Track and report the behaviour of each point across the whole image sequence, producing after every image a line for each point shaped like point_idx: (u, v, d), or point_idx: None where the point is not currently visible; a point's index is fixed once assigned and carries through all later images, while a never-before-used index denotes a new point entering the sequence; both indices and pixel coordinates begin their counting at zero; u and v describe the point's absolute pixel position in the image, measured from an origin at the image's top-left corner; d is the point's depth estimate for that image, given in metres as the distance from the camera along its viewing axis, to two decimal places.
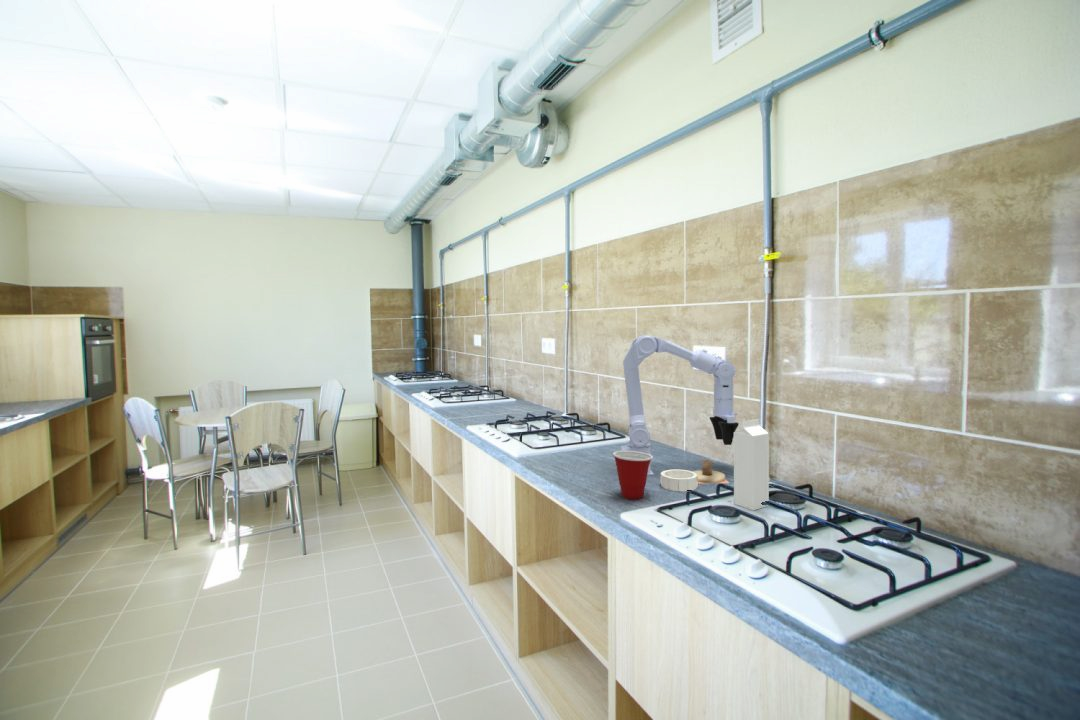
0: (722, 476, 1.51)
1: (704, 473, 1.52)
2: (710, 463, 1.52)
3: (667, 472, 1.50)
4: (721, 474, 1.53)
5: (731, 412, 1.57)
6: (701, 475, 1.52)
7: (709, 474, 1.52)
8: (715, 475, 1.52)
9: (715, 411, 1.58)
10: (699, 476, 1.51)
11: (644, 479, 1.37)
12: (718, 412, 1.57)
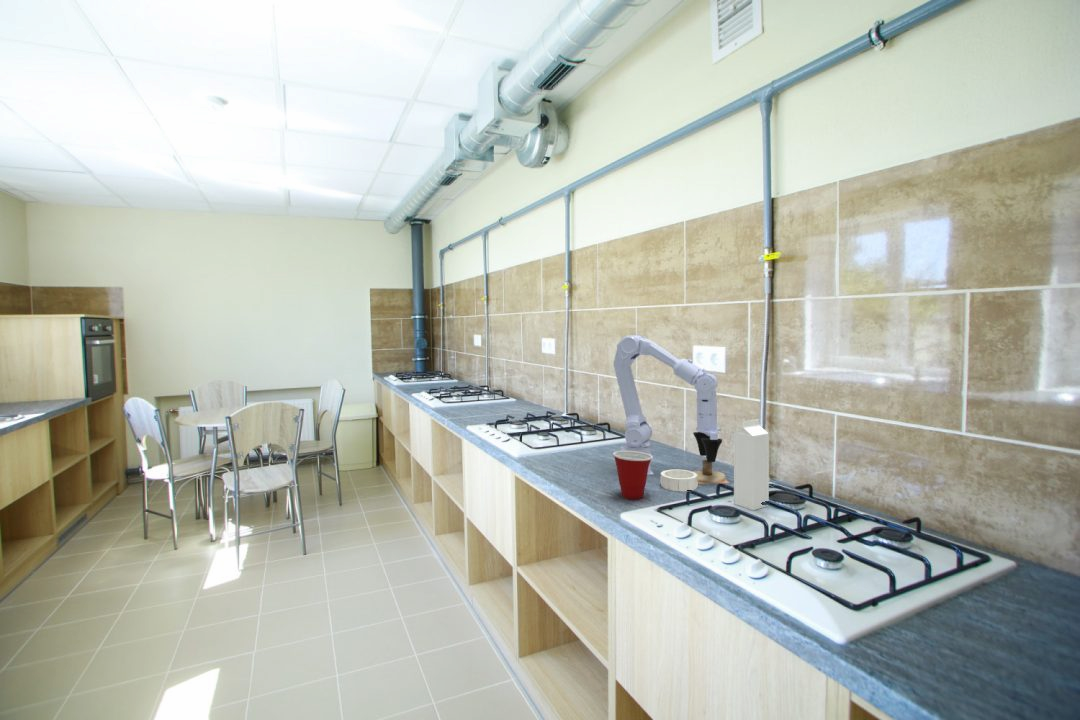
0: (722, 476, 1.51)
1: (704, 473, 1.52)
2: (710, 463, 1.52)
3: (667, 472, 1.50)
4: (721, 474, 1.53)
5: (715, 428, 1.50)
6: (701, 475, 1.52)
7: (710, 474, 1.52)
8: (715, 475, 1.52)
9: (698, 427, 1.52)
10: (699, 476, 1.51)
11: (644, 479, 1.37)
12: (701, 428, 1.51)
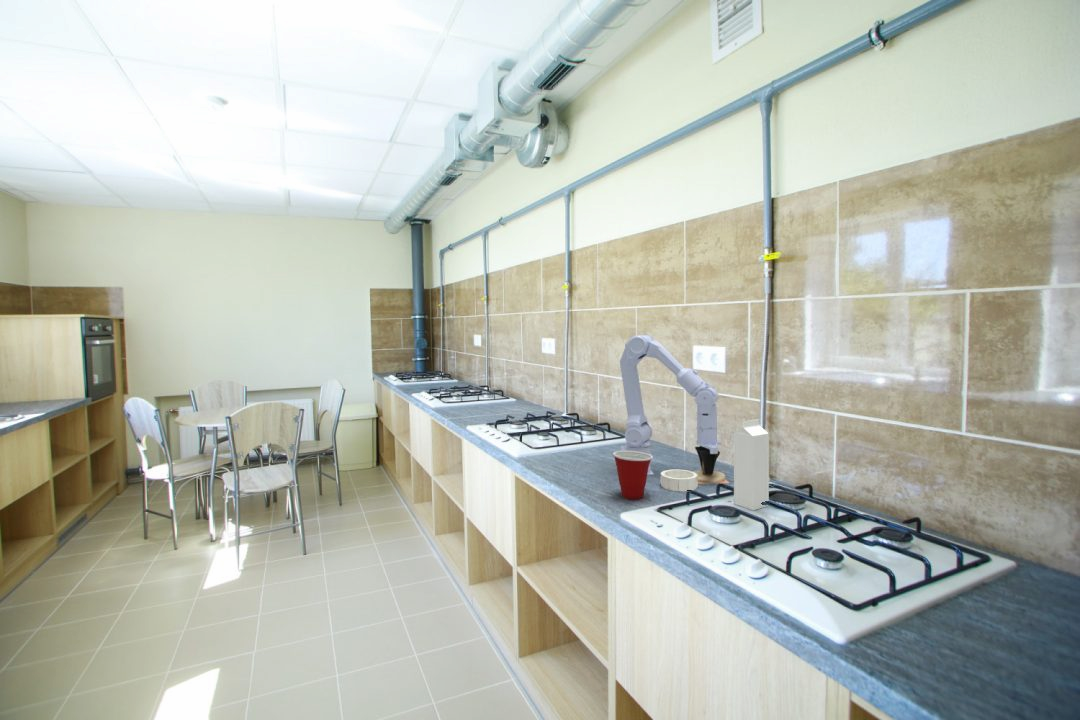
0: (722, 476, 1.51)
1: (704, 473, 1.52)
2: None
3: (667, 472, 1.50)
4: (721, 474, 1.53)
5: (715, 441, 1.50)
6: (701, 475, 1.52)
7: (710, 474, 1.52)
8: (715, 475, 1.52)
9: (698, 440, 1.52)
10: (699, 476, 1.51)
11: (644, 479, 1.37)
12: (701, 441, 1.51)
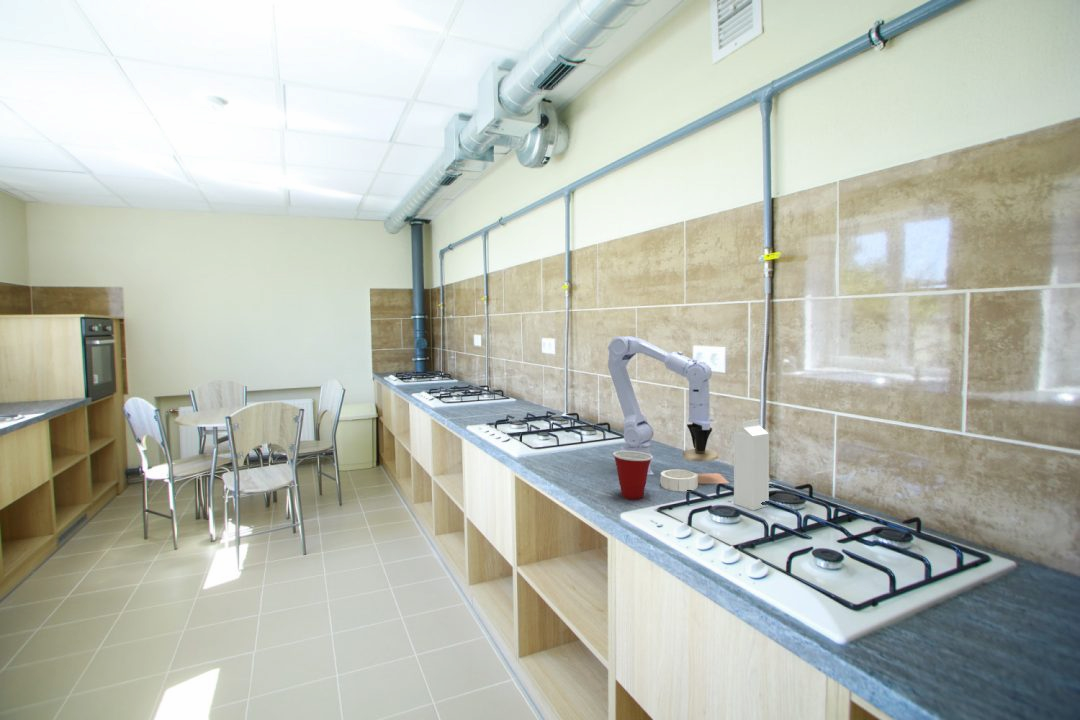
0: (715, 454, 1.49)
1: (697, 452, 1.50)
2: None
3: (667, 472, 1.50)
4: (714, 452, 1.51)
5: (707, 418, 1.48)
6: (694, 454, 1.50)
7: (702, 452, 1.50)
8: (708, 453, 1.50)
9: (690, 417, 1.50)
10: (692, 455, 1.49)
11: (644, 479, 1.37)
12: (693, 418, 1.49)
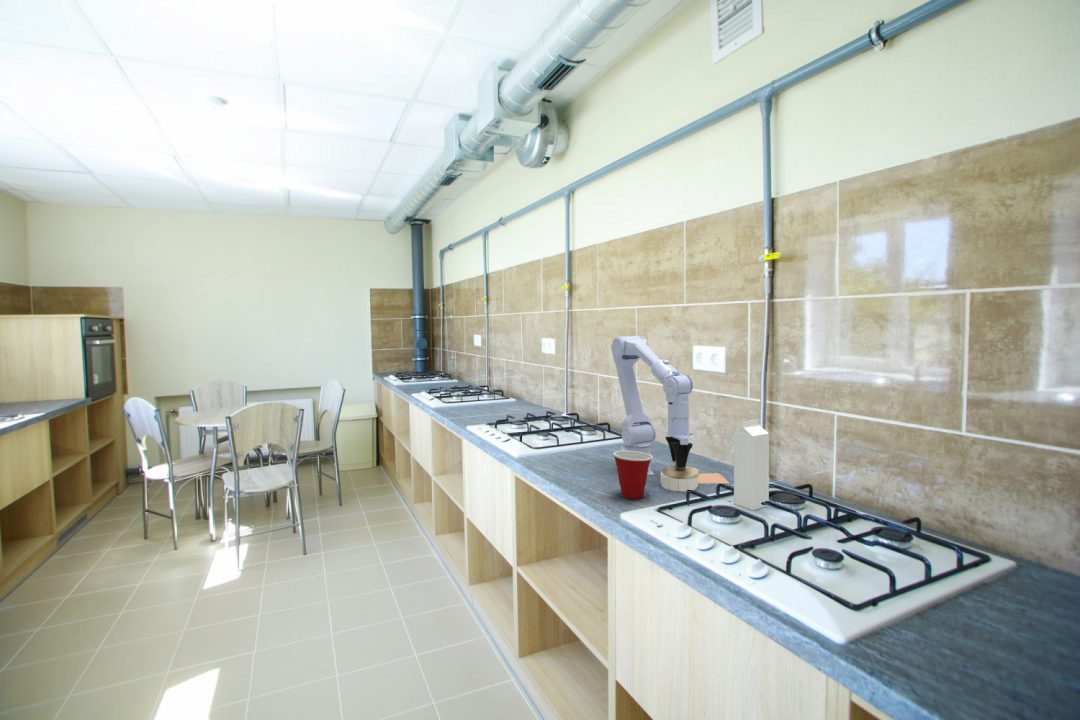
0: (696, 471, 1.44)
1: (677, 469, 1.46)
2: None
3: None
4: (695, 469, 1.46)
5: (686, 432, 1.44)
6: (674, 471, 1.45)
7: (683, 470, 1.45)
8: (689, 471, 1.45)
9: (669, 431, 1.45)
10: (672, 472, 1.44)
11: (644, 479, 1.37)
12: (672, 432, 1.44)
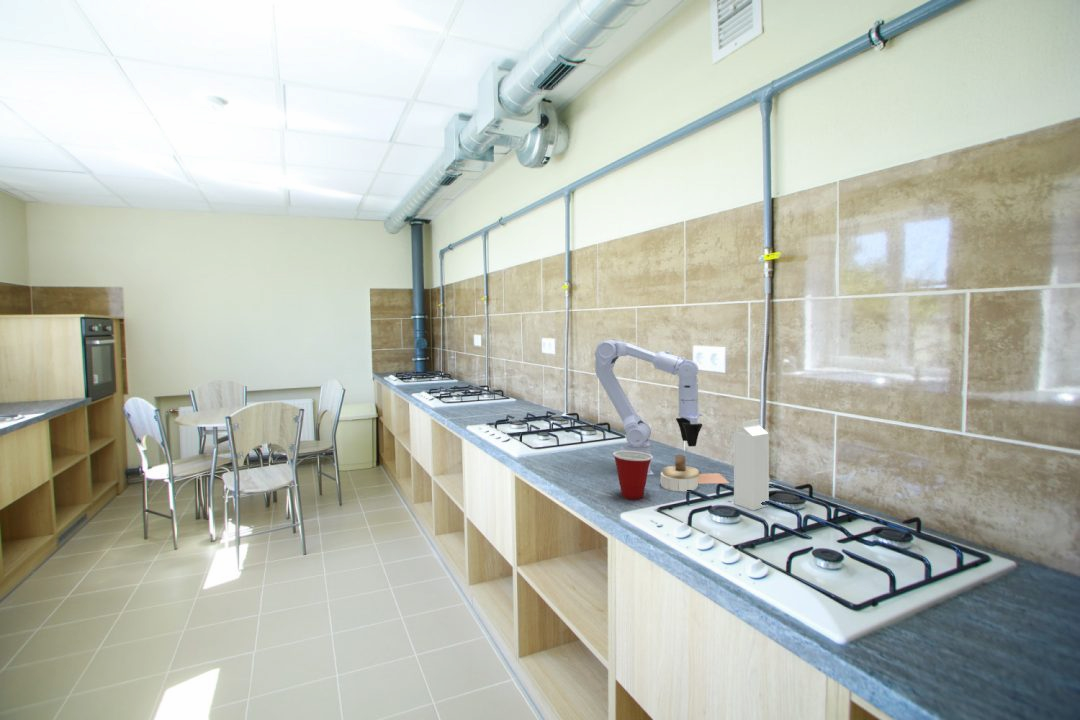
0: (696, 471, 1.44)
1: (677, 469, 1.46)
2: (683, 458, 1.45)
3: None
4: (695, 469, 1.46)
5: (695, 413, 1.54)
6: (674, 471, 1.45)
7: (683, 470, 1.45)
8: (689, 471, 1.45)
9: (680, 412, 1.56)
10: (672, 472, 1.44)
11: (644, 479, 1.37)
12: (682, 413, 1.55)
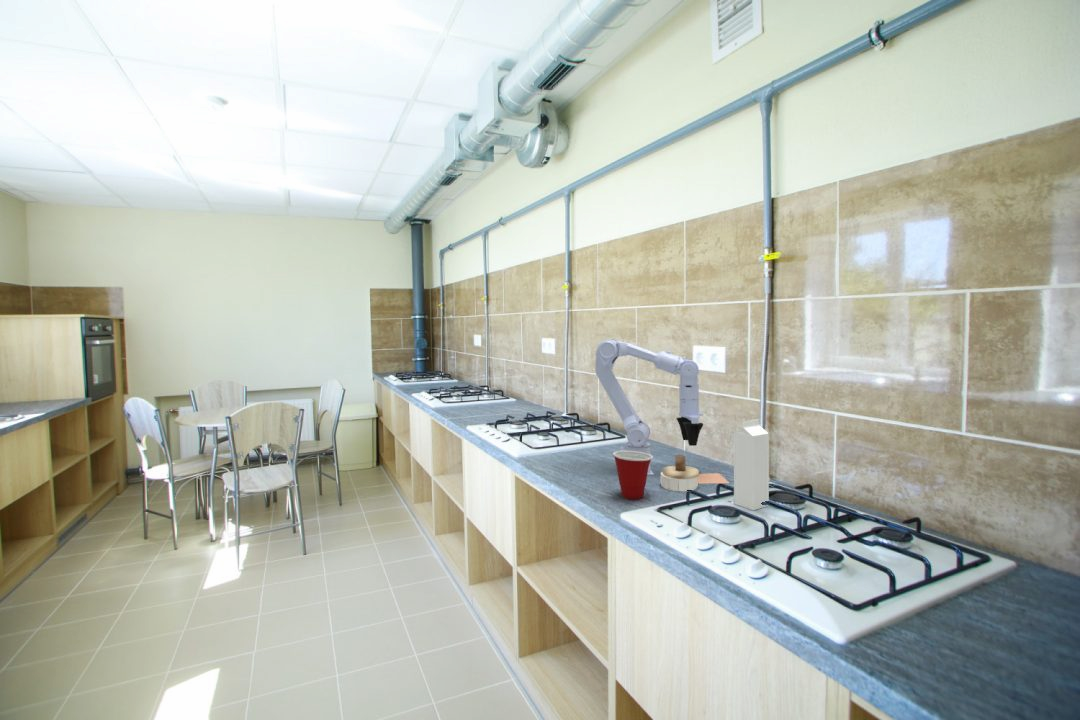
0: (696, 471, 1.44)
1: (677, 469, 1.46)
2: (683, 458, 1.45)
3: None
4: (695, 469, 1.46)
5: (696, 412, 1.55)
6: (674, 471, 1.45)
7: (683, 470, 1.45)
8: (689, 471, 1.45)
9: (680, 411, 1.57)
10: (672, 472, 1.44)
11: (644, 479, 1.37)
12: (683, 412, 1.56)
